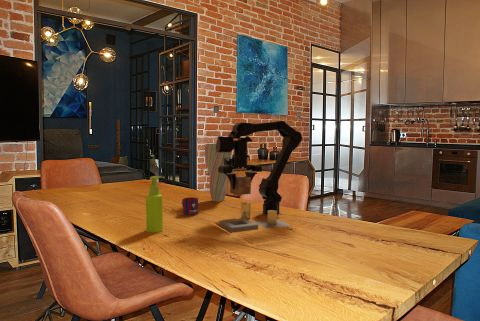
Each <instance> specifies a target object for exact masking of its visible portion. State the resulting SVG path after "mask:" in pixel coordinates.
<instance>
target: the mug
mask: <svg viewBox="0 0 480 321" xmlns="http://www.w3.org/2000/svg"><path fill="white" fill-rule="evenodd" d="M181 204H182V215H184V216H197V215H199V198H198V197H194V196H193V197H189V196H188V197H183V198H182V200H181Z"/></svg>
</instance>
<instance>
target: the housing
mask: <svg viewBox="0 0 480 321" xmlns="http://www.w3.org/2000/svg"><path fill="white" fill-rule="evenodd" d="M251 183H252V181H251V177H247V176H246V175H236V178H235V189H234V190H233V189H232V187H231V184H230V183H229V185H230V187H229V188H230V189H229V193H230V194H233V195H237V196H241V195H251V193H252V192H251V191H252V184H251Z"/></svg>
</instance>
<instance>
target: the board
mask: <svg viewBox="0 0 480 321" xmlns="http://www.w3.org/2000/svg"><path fill="white" fill-rule="evenodd" d="M253 223H256V224H258V226H261V227H263V228H265V229H275V228H283V227H284V228H285V227H292V224H289V223H287V222H284V221H282V220H279V219H278V214H277V211H276V210H268V215H267V220H261V221H253Z"/></svg>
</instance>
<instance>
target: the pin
mask: <svg viewBox="0 0 480 321" xmlns="http://www.w3.org/2000/svg"><path fill="white" fill-rule="evenodd" d="M240 219H247V220H251V202H248V201H242V202H240Z"/></svg>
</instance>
